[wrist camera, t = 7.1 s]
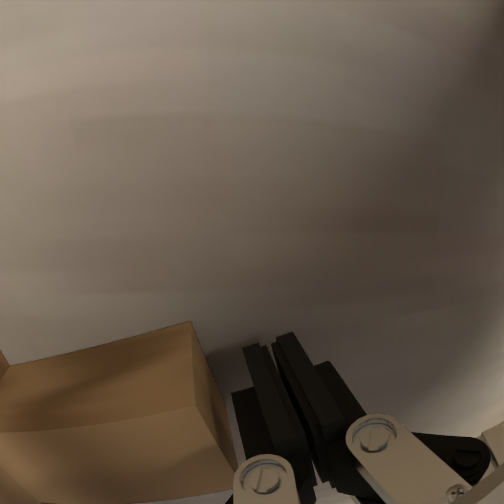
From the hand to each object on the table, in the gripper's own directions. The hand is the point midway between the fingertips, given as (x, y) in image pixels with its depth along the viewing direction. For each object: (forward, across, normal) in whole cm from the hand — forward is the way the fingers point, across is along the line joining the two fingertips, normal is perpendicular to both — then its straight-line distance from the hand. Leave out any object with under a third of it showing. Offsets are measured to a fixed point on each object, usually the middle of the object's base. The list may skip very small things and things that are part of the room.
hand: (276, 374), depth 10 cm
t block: (+1, +8, 0) cm, 8 cm away
